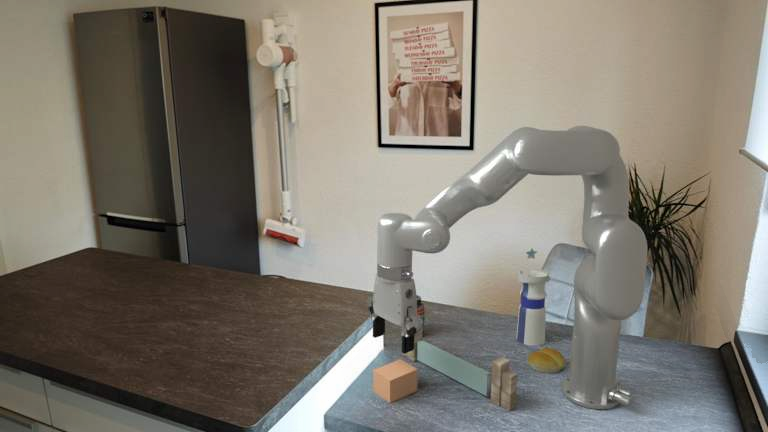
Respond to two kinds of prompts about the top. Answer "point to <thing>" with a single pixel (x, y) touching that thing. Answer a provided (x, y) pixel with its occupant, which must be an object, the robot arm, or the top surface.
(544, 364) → the bread roll
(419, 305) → the supplement bottle
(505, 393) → the wooden block fence
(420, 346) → the pale green flat bar
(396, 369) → the block
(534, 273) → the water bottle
